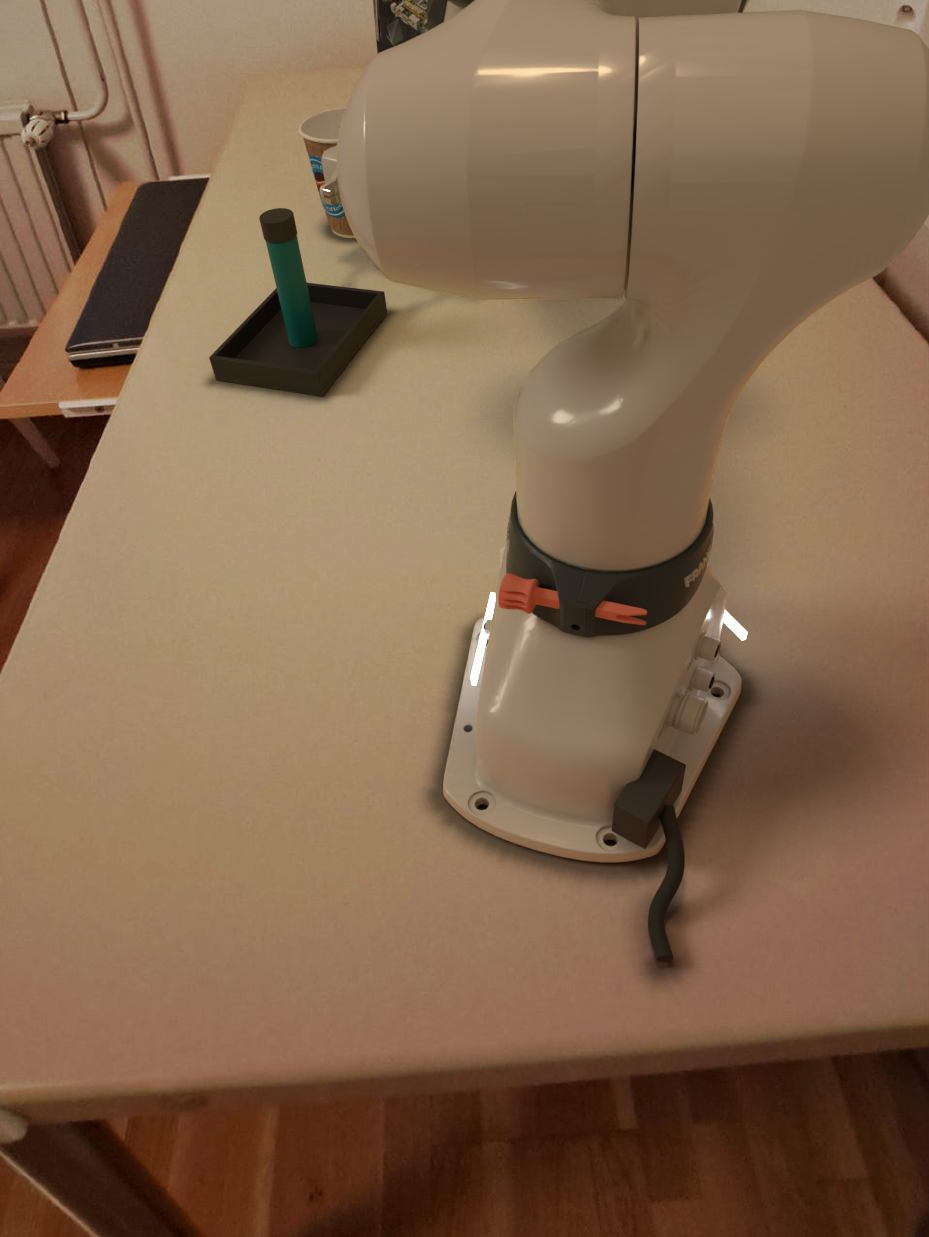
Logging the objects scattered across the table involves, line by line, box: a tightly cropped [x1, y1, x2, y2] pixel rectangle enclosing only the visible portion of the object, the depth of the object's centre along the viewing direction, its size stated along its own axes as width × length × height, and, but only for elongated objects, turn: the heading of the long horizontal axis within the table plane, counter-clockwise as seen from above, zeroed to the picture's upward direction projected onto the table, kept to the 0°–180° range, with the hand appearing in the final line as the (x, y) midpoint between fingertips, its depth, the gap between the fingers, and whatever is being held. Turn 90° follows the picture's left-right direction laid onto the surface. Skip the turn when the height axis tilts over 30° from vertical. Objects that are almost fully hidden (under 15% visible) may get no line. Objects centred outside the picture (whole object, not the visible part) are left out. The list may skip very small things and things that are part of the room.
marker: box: [258, 207, 318, 348], centre depth 92 cm, size 3×3×13 cm
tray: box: [208, 282, 388, 397], centre depth 96 cm, size 16×12×3 cm
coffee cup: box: [298, 106, 356, 239], centre depth 111 cm, size 10×10×12 cm
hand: (359, 206), depth 95 cm, fingers open, 8 cm apart
